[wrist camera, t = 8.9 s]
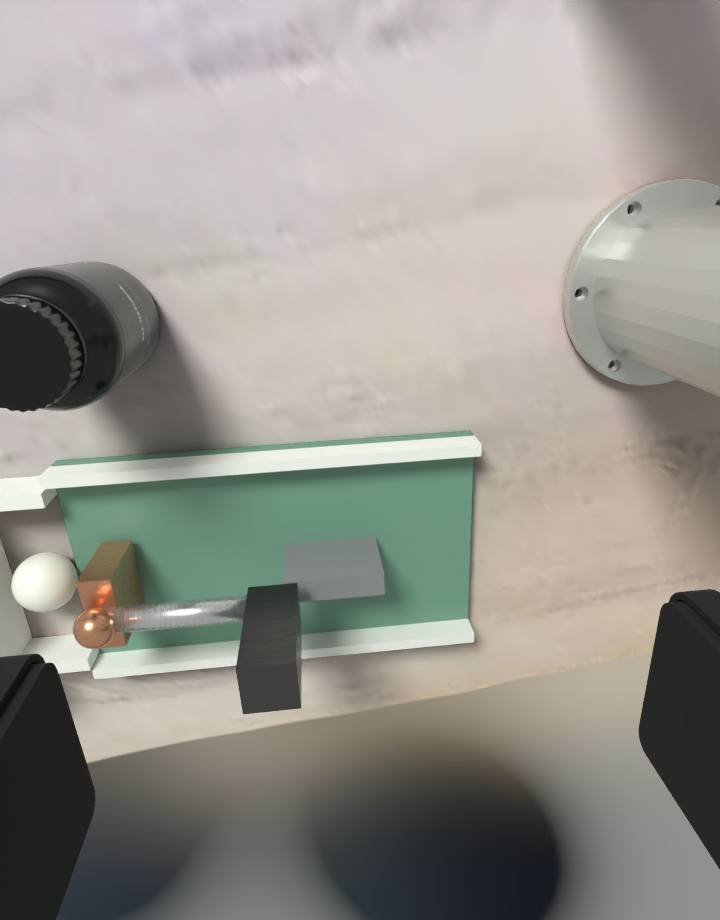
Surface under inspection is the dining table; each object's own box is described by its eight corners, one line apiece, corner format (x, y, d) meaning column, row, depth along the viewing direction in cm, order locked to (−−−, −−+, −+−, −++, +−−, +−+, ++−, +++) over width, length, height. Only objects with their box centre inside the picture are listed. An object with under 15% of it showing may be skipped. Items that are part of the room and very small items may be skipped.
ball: (-7, 576, 37) (18, 544, 40) (10, 628, 38) (33, 592, 42) (58, 569, 37) (78, 538, 41) (73, 620, 39) (91, 586, 42)
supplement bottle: (184, 308, 36) (130, 346, 24) (125, 394, 37) (51, 466, 26) (80, 233, 33) (-30, 238, 22) (24, 328, 35) (-105, 376, 24)
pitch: (470, 430, 40) (497, 463, 35) (464, 618, 46) (486, 672, 41) (-47, 468, 38) (-106, 509, 32) (19, 661, 44) (-22, 724, 39)
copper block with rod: (296, 526, 40) (294, 646, 29) (302, 586, 42) (302, 722, 31) (98, 542, 39) (13, 673, 28) (113, 603, 41) (40, 750, 30)
